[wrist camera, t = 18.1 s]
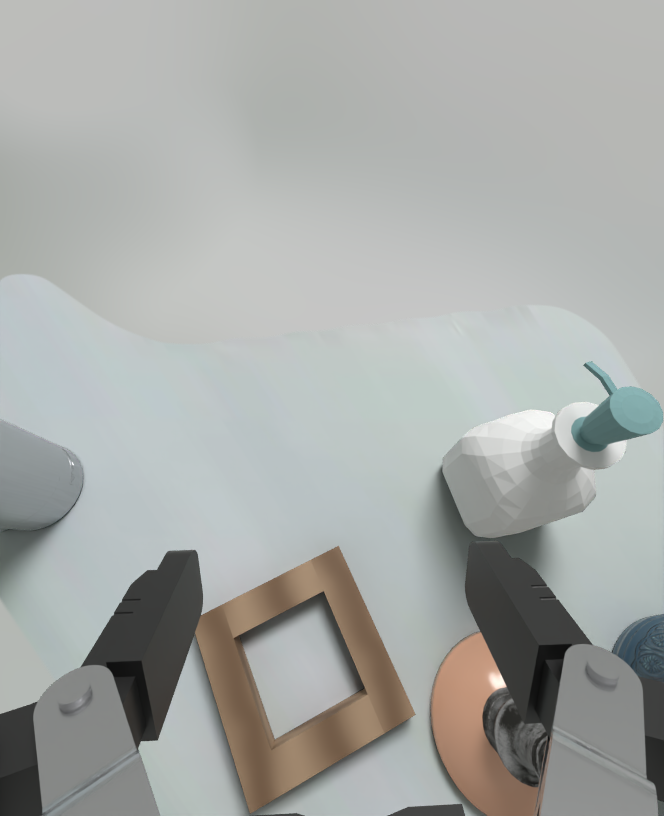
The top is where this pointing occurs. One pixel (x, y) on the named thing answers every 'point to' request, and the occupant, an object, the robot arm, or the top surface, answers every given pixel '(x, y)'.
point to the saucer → (474, 731)
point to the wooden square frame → (327, 732)
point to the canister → (643, 647)
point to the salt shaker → (514, 738)
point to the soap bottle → (543, 459)
